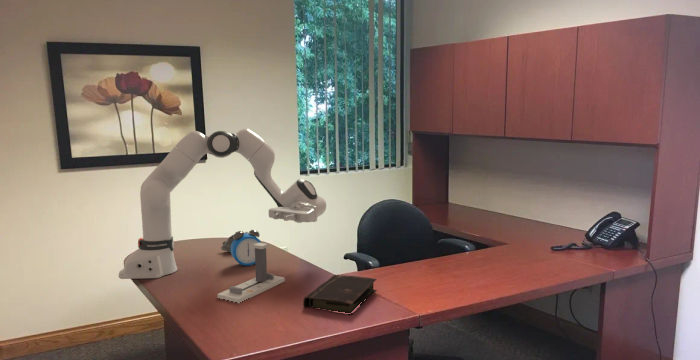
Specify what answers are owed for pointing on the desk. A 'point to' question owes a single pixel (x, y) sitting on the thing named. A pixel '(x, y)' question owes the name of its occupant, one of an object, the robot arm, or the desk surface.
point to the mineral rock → (228, 244)
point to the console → (250, 288)
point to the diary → (341, 293)
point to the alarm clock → (244, 247)
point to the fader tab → (260, 261)
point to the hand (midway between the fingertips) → (279, 217)
